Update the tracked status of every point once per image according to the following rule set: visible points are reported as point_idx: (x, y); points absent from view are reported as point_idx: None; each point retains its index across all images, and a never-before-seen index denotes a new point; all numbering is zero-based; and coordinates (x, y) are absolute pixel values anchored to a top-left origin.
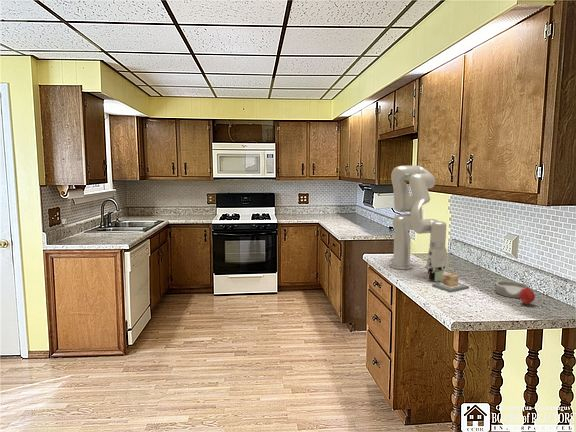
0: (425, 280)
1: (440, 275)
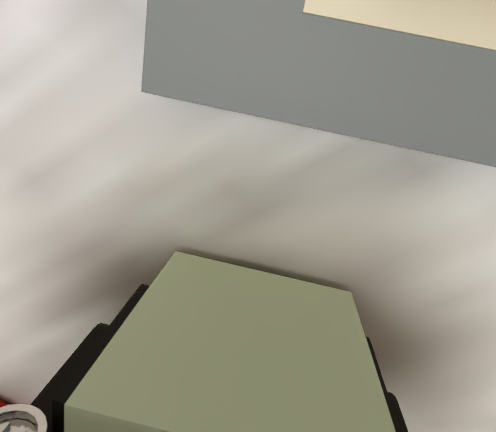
0: None
1: (224, 334)
